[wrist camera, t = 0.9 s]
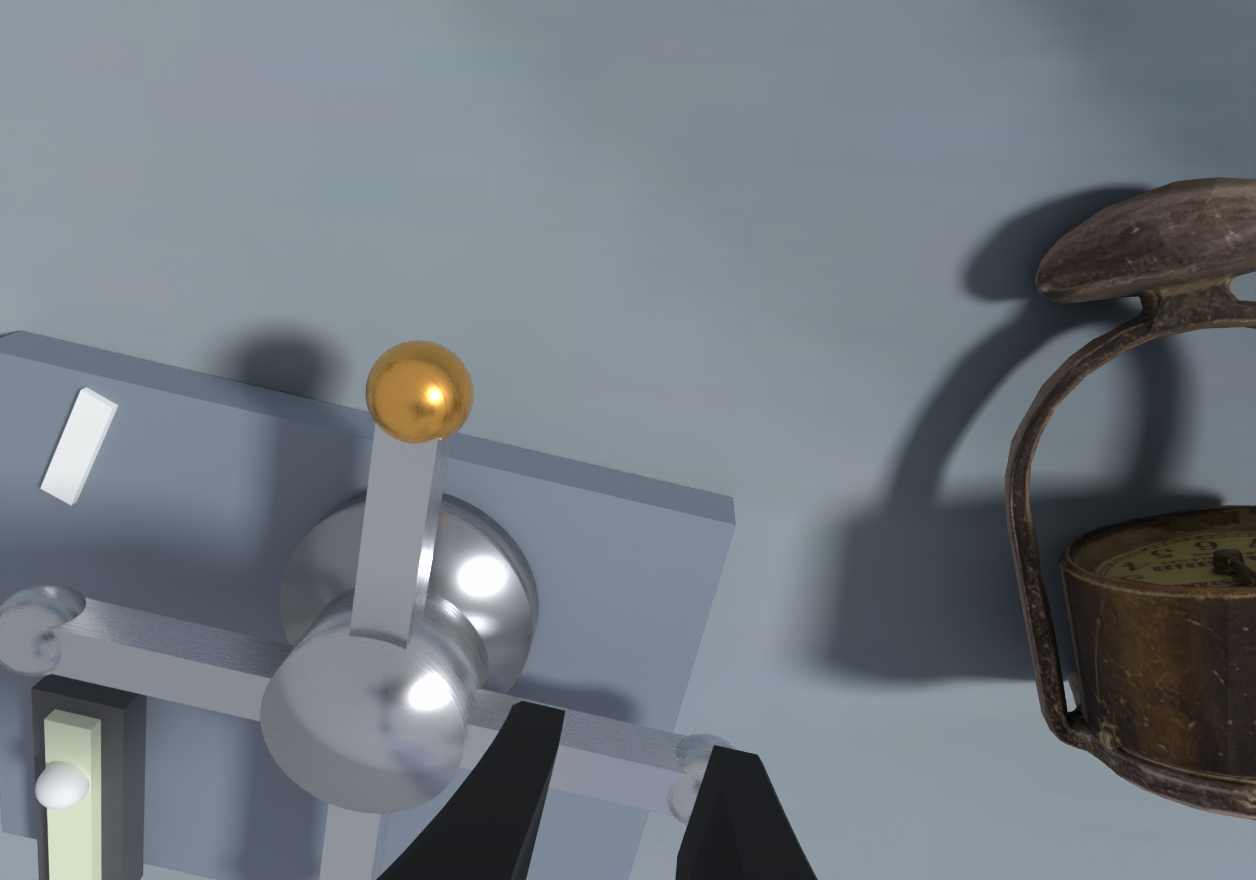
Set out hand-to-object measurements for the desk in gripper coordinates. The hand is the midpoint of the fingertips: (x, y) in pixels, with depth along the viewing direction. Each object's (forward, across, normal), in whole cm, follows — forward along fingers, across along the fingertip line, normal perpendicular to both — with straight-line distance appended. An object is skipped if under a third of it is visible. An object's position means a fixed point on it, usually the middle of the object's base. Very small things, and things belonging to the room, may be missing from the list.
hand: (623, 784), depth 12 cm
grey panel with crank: (+10, +7, +8) cm, 15 cm away
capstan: (+9, +5, +5) cm, 11 cm away
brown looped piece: (+11, -12, -4) cm, 16 cm away
